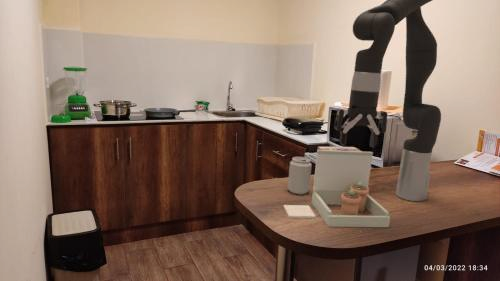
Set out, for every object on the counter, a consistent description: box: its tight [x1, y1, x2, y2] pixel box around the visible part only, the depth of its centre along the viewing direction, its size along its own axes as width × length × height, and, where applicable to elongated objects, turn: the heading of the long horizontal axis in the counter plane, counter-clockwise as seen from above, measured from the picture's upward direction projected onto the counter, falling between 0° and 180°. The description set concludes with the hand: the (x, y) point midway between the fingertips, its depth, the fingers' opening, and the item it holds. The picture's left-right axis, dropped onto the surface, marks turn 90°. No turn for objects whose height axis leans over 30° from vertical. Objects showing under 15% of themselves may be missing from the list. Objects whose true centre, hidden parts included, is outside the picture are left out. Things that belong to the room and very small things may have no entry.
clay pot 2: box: [350, 182, 370, 213], centre depth 116 cm, size 6×6×9 cm
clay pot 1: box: [339, 190, 361, 216], centre depth 108 cm, size 6×6×9 cm
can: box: [287, 156, 312, 195], centre depth 128 cm, size 8×8×12 cm
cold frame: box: [311, 150, 391, 228], centre depth 110 cm, size 18×17×18 cm
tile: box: [283, 204, 317, 219], centre depth 111 cm, size 8×8×1 cm
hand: (357, 146), depth 104 cm, fingers open, 8 cm apart
